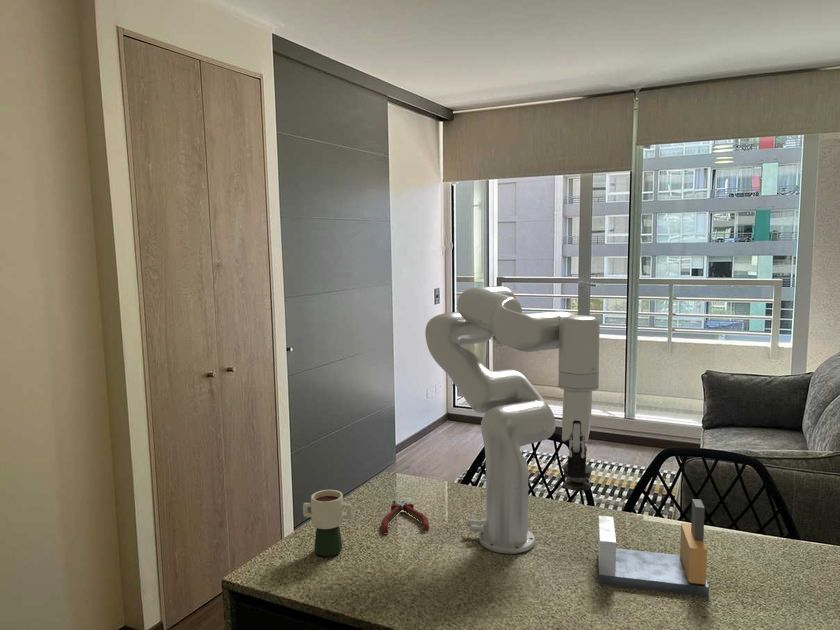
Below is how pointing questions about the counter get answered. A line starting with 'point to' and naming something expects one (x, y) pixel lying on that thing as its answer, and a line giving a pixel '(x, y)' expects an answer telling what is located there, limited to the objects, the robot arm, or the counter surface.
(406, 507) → the pliers
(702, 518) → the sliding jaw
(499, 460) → the robot arm
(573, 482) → the dark grey chess piece
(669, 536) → the counter surface
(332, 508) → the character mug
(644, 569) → the vise
